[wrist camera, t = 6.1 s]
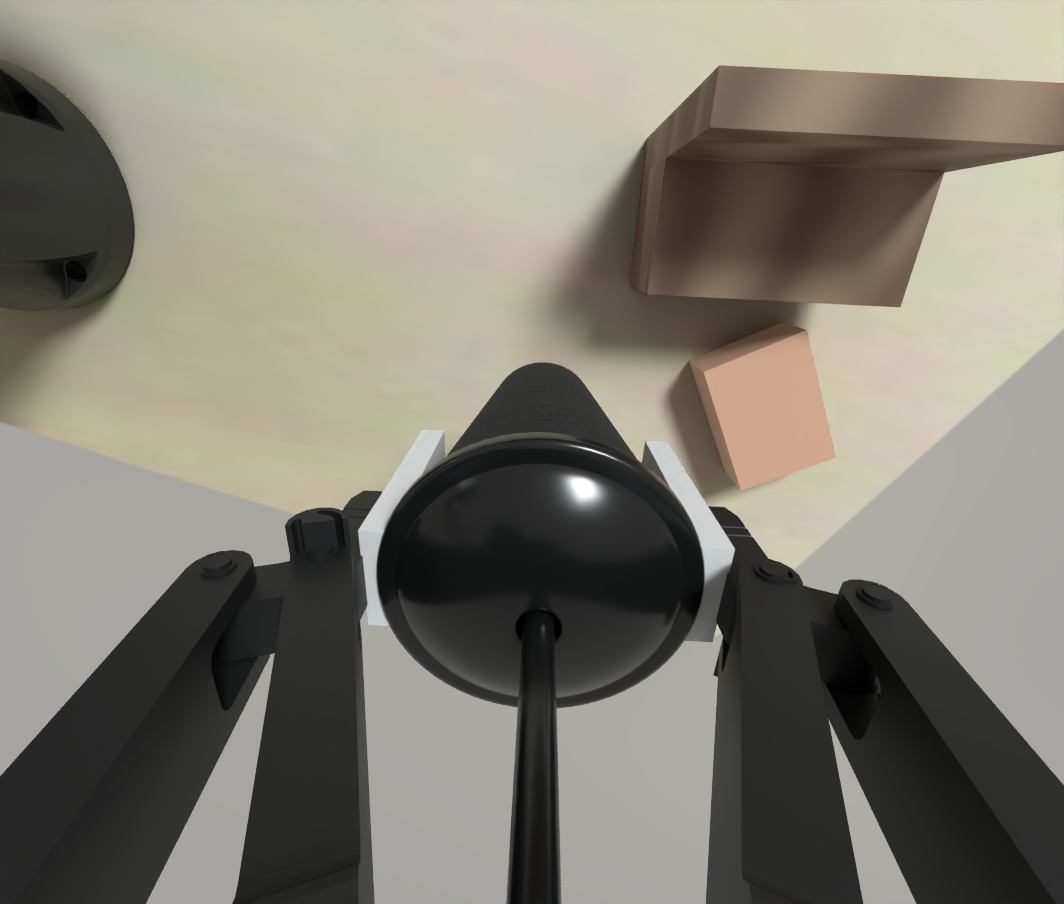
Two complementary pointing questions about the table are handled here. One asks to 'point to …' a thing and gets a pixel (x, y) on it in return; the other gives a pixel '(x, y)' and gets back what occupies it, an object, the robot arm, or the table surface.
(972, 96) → the desk shelf
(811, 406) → the pink rectangular block
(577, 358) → the table surface
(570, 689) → the drinking cup
